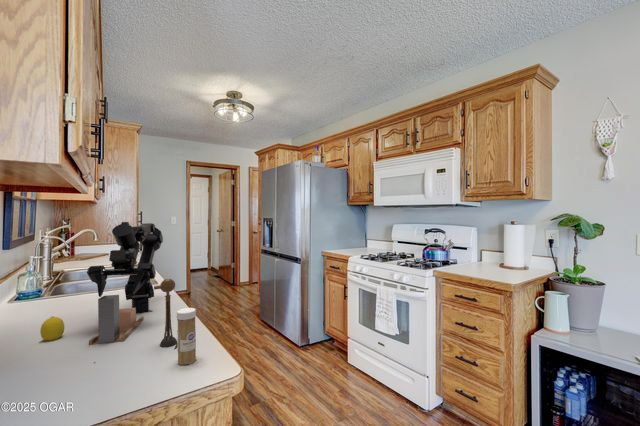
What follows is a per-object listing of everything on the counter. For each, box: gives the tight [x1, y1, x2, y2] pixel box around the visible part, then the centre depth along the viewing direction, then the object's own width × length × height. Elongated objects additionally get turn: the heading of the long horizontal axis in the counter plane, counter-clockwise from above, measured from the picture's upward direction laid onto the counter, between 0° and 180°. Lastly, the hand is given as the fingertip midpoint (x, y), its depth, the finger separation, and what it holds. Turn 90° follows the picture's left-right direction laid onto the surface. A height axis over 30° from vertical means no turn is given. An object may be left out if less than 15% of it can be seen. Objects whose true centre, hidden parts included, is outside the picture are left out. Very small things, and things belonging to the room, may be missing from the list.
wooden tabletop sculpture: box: [153, 278, 178, 350], centre depth 87 cm, size 6×5×20 cm
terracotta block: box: [119, 307, 137, 328], centre depth 103 cm, size 5×5×5 cm
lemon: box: [40, 315, 65, 342], centre depth 93 cm, size 6×6×8 cm
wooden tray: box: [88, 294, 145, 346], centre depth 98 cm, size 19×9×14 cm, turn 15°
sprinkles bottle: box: [176, 307, 197, 366], centre depth 79 cm, size 5×5×13 cm
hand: (116, 295), depth 96 cm, fingers open, 9 cm apart
